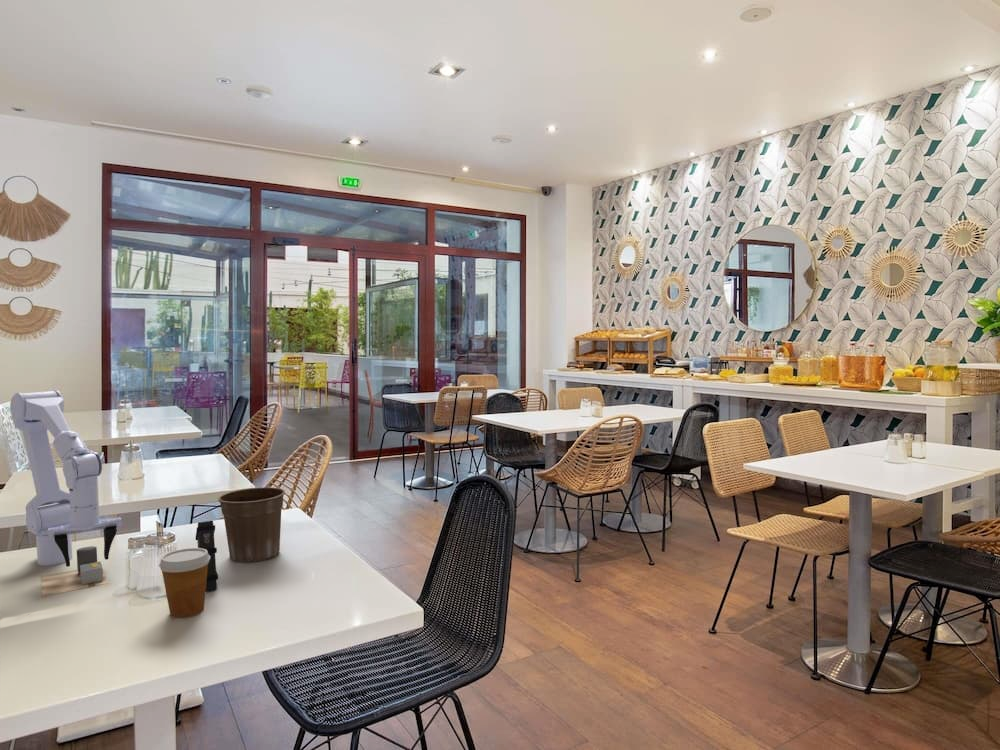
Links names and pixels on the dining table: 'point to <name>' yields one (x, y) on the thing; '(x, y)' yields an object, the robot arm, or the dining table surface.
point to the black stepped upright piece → (207, 542)
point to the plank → (65, 582)
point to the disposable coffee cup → (185, 580)
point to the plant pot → (252, 522)
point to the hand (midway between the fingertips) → (87, 561)
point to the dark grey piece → (86, 556)
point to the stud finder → (91, 572)
